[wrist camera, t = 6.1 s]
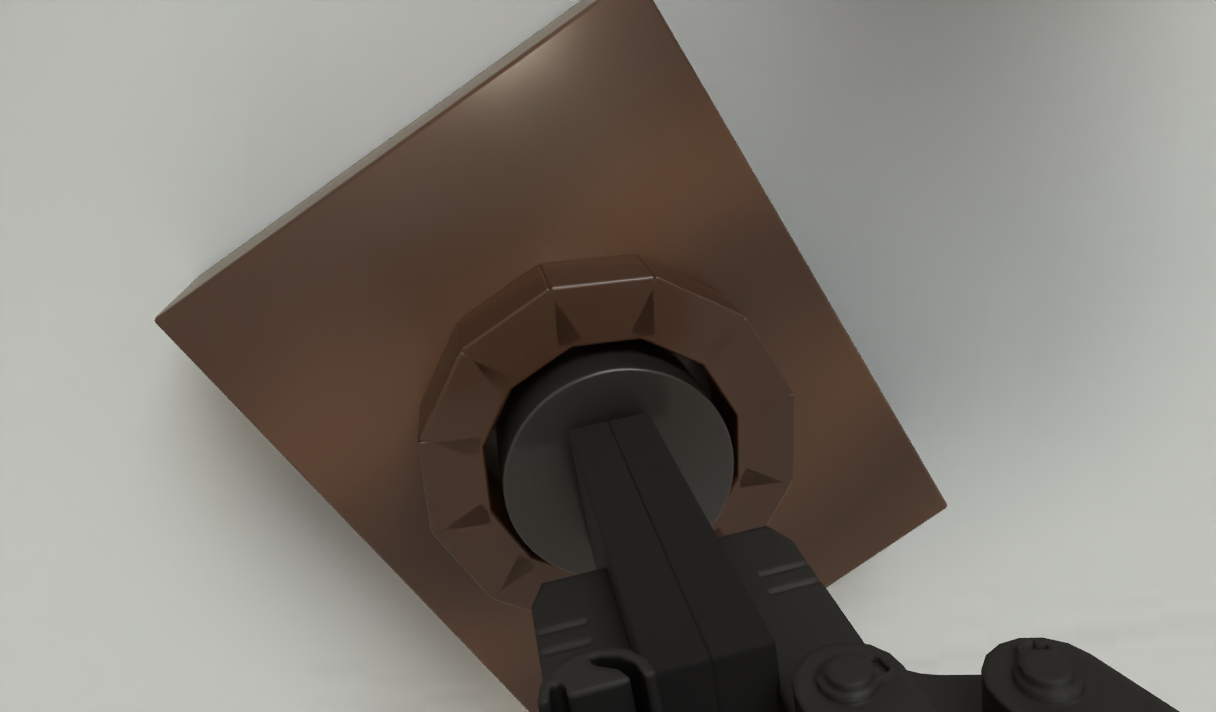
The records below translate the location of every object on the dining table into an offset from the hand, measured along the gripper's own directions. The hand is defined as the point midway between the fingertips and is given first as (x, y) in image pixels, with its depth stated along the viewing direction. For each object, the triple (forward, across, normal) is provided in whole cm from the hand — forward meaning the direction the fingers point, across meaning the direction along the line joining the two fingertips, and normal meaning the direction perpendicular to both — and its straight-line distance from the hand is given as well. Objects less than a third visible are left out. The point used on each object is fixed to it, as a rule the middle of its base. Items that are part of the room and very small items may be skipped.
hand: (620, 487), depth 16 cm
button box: (+6, 0, 0) cm, 6 cm away
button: (+2, 0, 0) cm, 2 cm away
